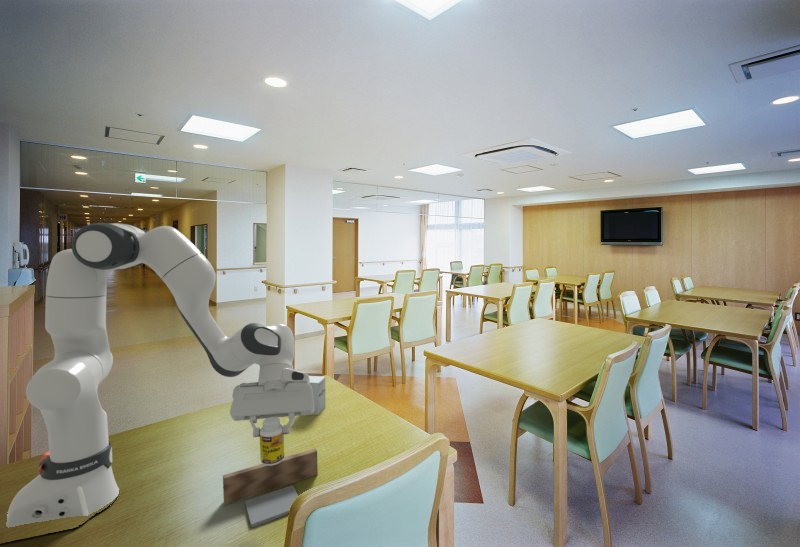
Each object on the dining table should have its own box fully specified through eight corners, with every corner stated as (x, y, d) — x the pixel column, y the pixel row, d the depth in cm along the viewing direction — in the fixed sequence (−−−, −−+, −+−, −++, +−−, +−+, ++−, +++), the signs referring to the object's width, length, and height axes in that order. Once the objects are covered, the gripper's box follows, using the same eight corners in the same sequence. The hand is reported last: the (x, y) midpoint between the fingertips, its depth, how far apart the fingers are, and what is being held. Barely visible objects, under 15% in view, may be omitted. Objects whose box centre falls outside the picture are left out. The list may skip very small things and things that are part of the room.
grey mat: (251, 527, 86) (251, 524, 85) (245, 504, 93) (245, 501, 93) (303, 508, 92) (302, 505, 92) (293, 488, 99) (293, 485, 99)
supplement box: (318, 415, 141) (318, 383, 140) (300, 413, 143) (299, 381, 142) (326, 407, 149) (325, 376, 148) (309, 405, 150) (308, 375, 149)
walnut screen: (224, 505, 93) (223, 478, 92) (223, 501, 94) (222, 475, 94) (317, 474, 105) (317, 450, 105) (315, 471, 106) (315, 448, 106)
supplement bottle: (259, 468, 88) (257, 427, 87) (262, 455, 94) (260, 416, 93) (283, 465, 89) (282, 424, 89) (285, 452, 95) (284, 413, 94)
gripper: (231, 378, 95) (222, 434, 86) (314, 373, 99) (313, 426, 90) (236, 388, 100) (228, 443, 91) (314, 383, 103) (314, 435, 95)
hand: (271, 435), depth 90 cm, fingers closed on supplement bottle, 6 cm apart
